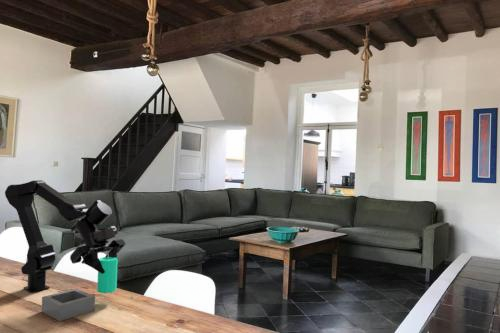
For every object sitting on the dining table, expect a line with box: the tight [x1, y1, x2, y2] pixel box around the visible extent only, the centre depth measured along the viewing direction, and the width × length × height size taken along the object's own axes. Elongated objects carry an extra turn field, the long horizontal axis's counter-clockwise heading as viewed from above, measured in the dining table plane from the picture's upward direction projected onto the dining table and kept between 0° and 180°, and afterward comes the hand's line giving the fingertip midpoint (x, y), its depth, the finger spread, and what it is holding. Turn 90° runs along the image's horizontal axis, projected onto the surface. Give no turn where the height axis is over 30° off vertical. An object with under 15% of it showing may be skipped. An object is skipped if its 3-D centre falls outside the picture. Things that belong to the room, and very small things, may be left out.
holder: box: [41, 288, 96, 322], centre depth 120 cm, size 11×11×4 cm
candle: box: [96, 254, 119, 294], centre depth 128 cm, size 6×6×12 cm
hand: (110, 271), depth 127 cm, fingers closed on candle, 5 cm apart
